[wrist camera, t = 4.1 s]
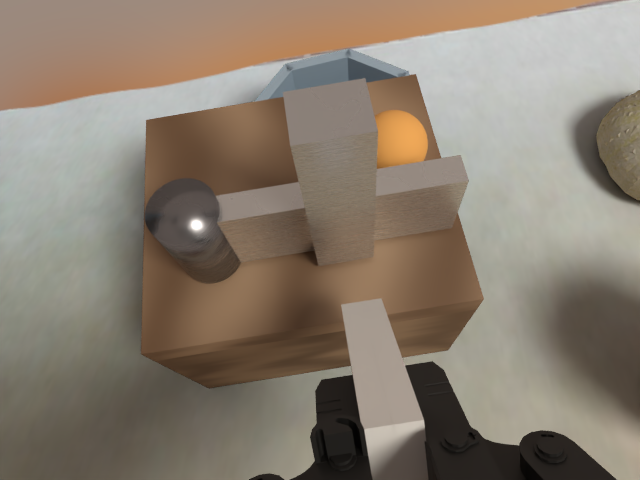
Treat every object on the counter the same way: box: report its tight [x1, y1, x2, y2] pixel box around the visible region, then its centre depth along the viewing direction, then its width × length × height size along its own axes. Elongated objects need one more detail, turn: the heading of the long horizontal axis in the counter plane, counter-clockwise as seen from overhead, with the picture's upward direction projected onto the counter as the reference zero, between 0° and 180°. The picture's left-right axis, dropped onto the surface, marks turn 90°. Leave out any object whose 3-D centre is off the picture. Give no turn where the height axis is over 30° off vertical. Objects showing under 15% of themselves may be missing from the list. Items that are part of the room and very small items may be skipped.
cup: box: [254, 49, 409, 102], centre depth 32 cm, size 10×10×7 cm
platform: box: [141, 74, 484, 388], centre depth 28 cm, size 15×13×10 cm
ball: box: [375, 110, 428, 169], centre depth 23 cm, size 3×3×3 cm
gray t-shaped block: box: [145, 78, 469, 284], centre depth 18 cm, size 12×3×9 cm, turn 98°
